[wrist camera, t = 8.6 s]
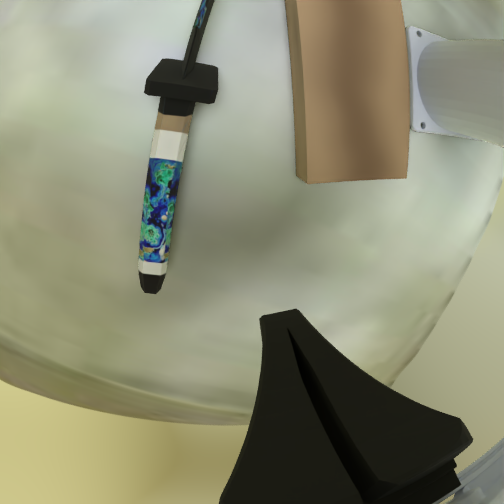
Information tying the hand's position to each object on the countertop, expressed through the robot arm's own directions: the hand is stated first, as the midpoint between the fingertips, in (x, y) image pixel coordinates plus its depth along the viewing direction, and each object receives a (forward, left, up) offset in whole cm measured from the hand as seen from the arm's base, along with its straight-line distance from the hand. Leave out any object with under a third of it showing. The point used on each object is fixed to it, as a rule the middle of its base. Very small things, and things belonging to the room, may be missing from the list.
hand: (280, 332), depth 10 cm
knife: (+1, -13, -9) cm, 16 cm away
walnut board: (-7, -13, -9) cm, 17 cm away
